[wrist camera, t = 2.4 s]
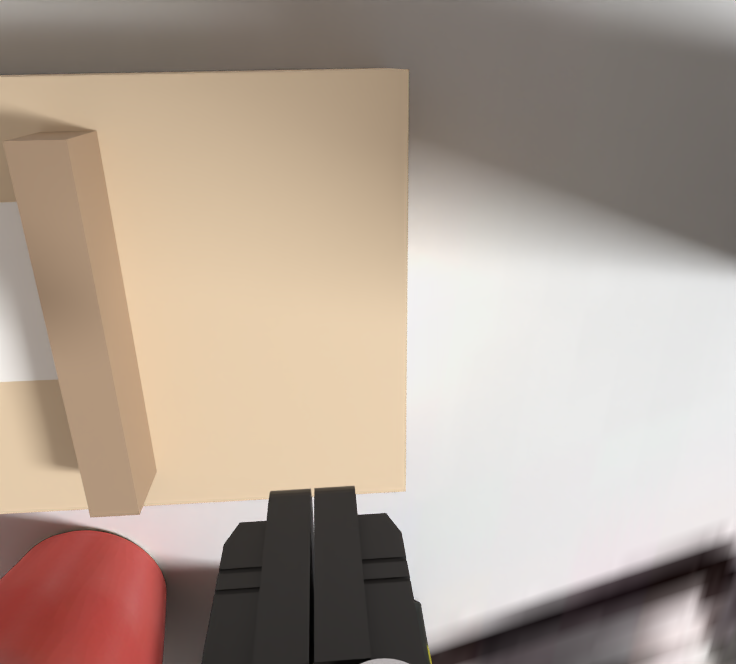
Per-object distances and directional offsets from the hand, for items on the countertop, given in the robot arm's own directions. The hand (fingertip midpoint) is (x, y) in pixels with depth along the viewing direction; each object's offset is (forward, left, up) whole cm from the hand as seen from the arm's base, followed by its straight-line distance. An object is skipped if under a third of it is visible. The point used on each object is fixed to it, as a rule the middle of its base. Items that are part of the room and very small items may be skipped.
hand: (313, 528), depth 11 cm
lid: (+7, 0, -12) cm, 13 cm away
